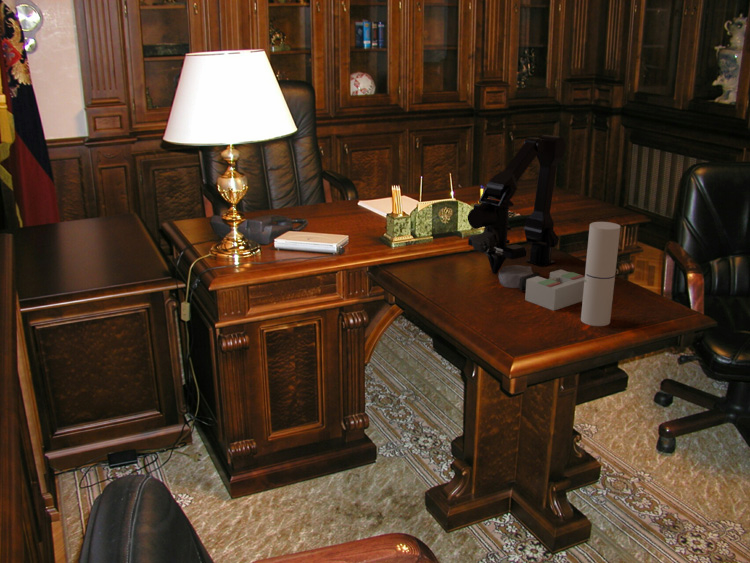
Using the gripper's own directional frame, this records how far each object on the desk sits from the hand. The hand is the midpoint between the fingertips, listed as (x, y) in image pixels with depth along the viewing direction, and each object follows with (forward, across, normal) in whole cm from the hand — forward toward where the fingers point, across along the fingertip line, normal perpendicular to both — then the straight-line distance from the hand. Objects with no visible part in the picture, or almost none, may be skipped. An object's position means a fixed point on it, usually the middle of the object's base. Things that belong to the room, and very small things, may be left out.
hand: (494, 273), depth 218 cm
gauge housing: (+1, +23, 0) cm, 23 cm away
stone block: (+2, +6, +3) cm, 6 cm away
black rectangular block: (+1, +17, 0) cm, 17 cm away
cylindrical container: (+1, +39, -4) cm, 39 cm away
